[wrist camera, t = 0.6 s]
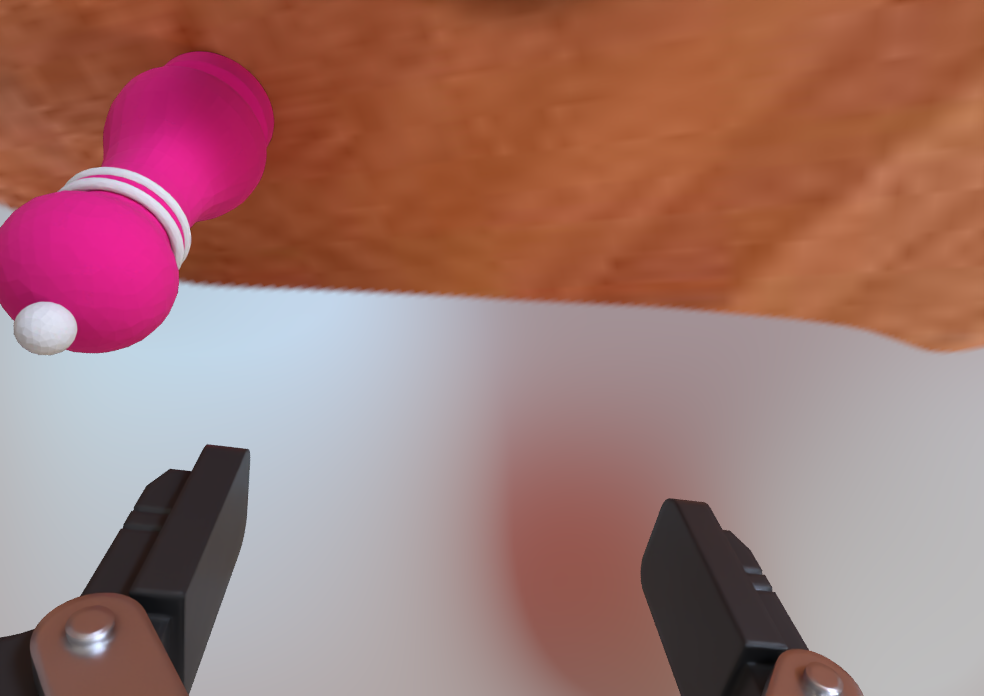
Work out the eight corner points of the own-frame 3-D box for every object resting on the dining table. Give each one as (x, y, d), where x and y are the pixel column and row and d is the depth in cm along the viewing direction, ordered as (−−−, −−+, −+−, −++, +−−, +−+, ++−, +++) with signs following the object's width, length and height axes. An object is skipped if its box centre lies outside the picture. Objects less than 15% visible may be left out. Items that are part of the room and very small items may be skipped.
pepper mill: (236, 18, 35) (41, 216, 19) (308, 148, 39) (196, 394, 24) (115, 69, 36) (-154, 290, 21) (197, 188, 41) (25, 444, 25)
